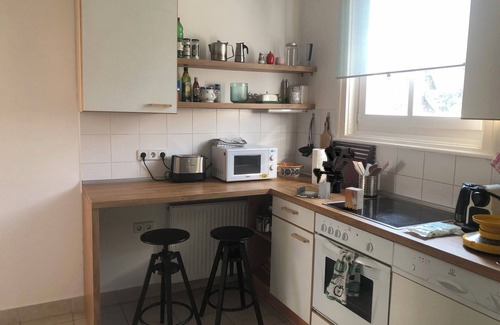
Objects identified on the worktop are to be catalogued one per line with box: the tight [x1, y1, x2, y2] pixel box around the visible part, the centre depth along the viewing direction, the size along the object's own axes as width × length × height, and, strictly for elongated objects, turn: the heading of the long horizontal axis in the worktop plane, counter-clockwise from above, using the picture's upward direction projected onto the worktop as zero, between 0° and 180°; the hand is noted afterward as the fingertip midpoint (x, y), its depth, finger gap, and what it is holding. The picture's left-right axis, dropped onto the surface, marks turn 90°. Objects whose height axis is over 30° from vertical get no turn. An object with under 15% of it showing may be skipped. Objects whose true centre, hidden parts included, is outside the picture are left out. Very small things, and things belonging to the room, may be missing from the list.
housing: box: [318, 180, 331, 199], centre depth 247 cm, size 5×5×10 cm
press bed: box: [295, 185, 319, 198], centre depth 252 cm, size 10×11×5 cm
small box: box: [344, 186, 365, 211], centre depth 221 cm, size 8×6×10 cm
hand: (324, 184), depth 247 cm, fingers open, 9 cm apart
